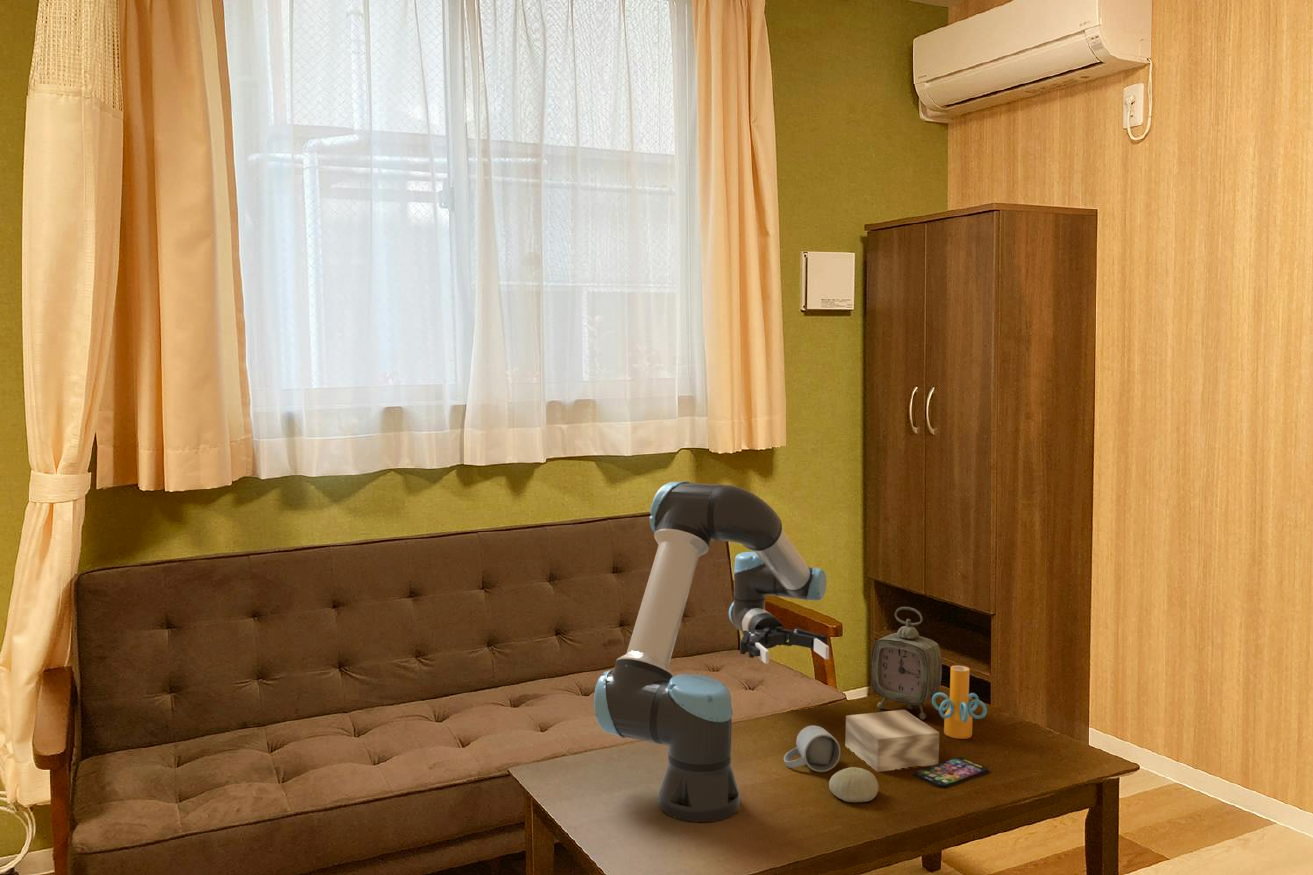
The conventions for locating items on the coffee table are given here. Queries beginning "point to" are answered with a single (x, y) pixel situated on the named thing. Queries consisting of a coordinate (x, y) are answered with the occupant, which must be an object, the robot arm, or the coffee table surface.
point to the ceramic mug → (814, 750)
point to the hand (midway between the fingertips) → (797, 655)
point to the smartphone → (950, 772)
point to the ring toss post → (959, 705)
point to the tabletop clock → (906, 666)
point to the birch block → (892, 740)
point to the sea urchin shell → (854, 785)
